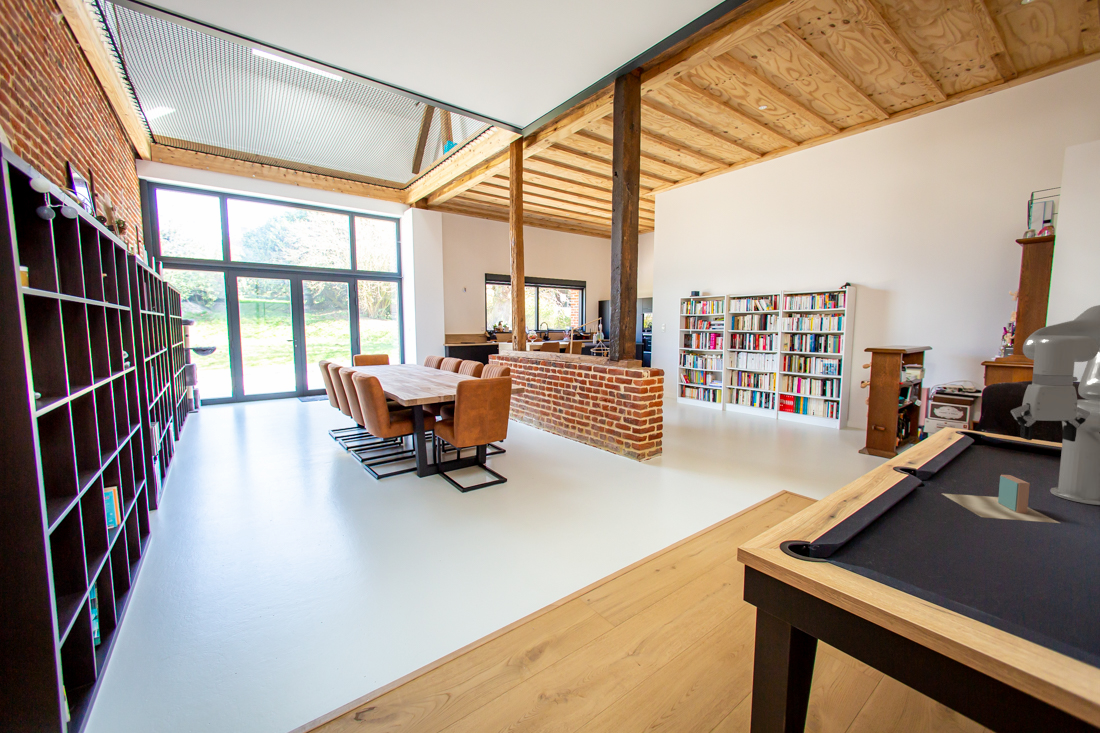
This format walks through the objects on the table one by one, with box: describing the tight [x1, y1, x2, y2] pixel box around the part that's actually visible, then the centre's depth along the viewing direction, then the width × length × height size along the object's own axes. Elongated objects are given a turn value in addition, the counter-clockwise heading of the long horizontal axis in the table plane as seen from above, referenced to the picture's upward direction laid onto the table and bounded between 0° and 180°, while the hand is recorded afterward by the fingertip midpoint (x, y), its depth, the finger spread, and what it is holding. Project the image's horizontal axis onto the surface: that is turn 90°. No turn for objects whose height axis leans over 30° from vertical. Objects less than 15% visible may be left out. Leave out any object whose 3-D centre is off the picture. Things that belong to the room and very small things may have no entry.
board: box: [941, 493, 1061, 524], centre depth 129 cm, size 18×18×1 cm
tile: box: [997, 474, 1031, 513], centre depth 128 cm, size 3×7×9 cm, turn 166°
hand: (1047, 439), depth 124 cm, fingers open, 9 cm apart
